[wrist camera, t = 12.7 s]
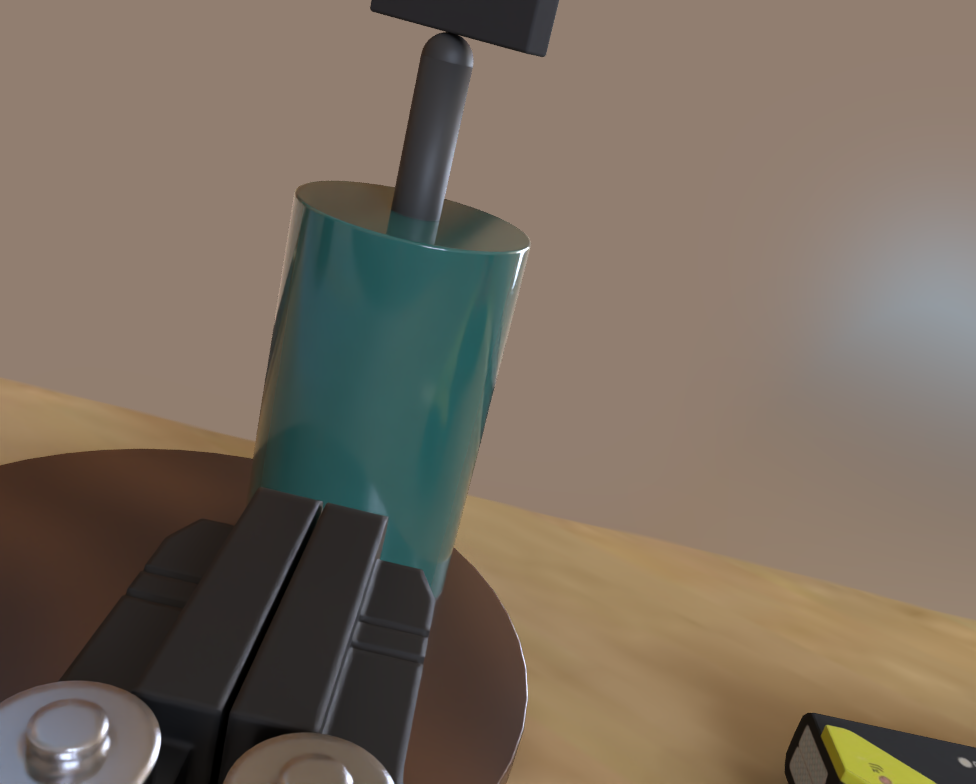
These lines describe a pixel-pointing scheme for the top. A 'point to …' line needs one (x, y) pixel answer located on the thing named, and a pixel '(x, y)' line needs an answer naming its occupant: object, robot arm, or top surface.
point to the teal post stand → (332, 421)
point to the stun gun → (872, 755)
